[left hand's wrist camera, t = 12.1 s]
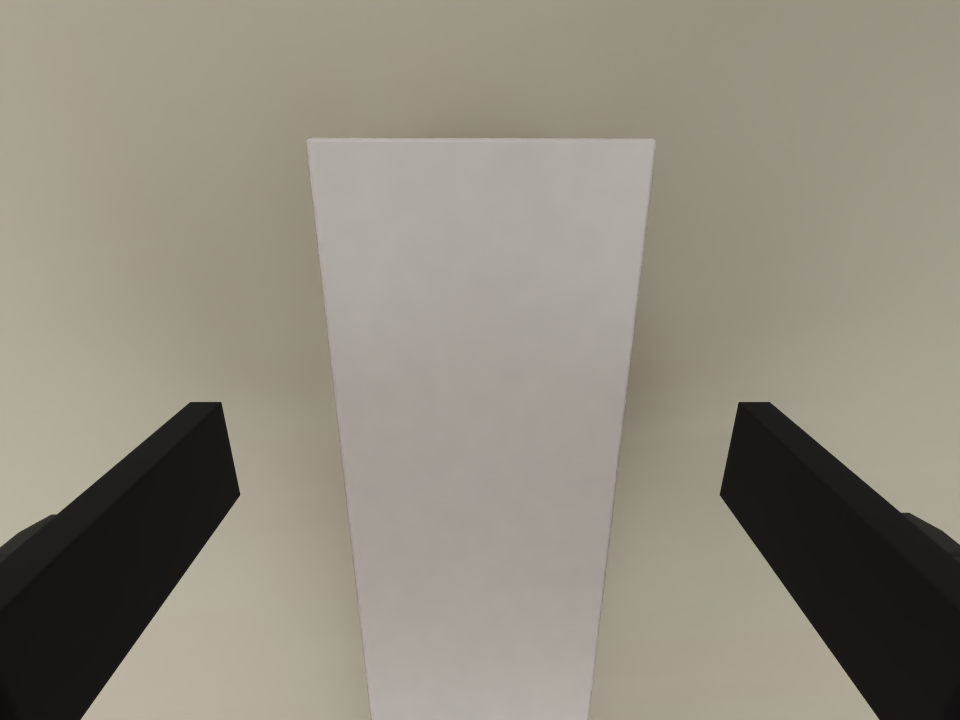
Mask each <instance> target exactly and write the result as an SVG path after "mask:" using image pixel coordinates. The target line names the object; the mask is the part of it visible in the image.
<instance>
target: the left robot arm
mask: <svg viewBox="0 0 960 720" xmlns="http://www.w3.org/2000/svg"><path fill="white" fill-rule="evenodd" d="M239 496H240V491H239V486H238V481H237V477H236V472H235V467H234V462H233V457H232V452H231V447H230V442H229V438H228V433H227V428H226V423H225V418H224V413H223V408H222V403H221V402H190V403H189V404H188V405H186V406H185V407H184V408H183V409H182V410H180V411H179V412H178V413H177V414H176V415H175V416H173V417H172V418H171V419H170V420H169V421H167V422H166V423H165V424H164V425H163V426H162V427H160V428H159V429H158V430H157V431H156V432H154V433H153V434H152V435H151V436H150V437H148V438H147V439H146V440H145V441H144V442H143V443H141V444H140V445H139V446H138V447H137V448H135V449H134V450H133V451H132V452H131V453H129V454H128V455H127V456H126V457H125V458H124V459H122V460H121V461H120V462H119V463H118V464H116V465H115V466H114V467H113V468H112V469H111V470H109V471H108V472H107V473H106V474H105V475H103V476H102V477H101V478H100V479H99V480H97V481H96V482H95V483H94V484H93V485H92V486H90V487H89V488H88V489H87V490H86V491H84V492H83V493H82V494H81V495H80V496H79V497H77V498H76V499H75V500H74V501H73V502H71V503H70V504H69V505H68V506H67V507H65V508H64V509H63V510H62V511H61V512H60V513H58V514H57V515H50V516H48V517H46V518H44V519H43V520H41V521H39V522H37V523H35V524H34V525H32V526H30V527H28V528H26V529H24V530H23V531H21V532H19V533H18V534H16V535H15V536H14V537H13V538H11V539H10V540H9V541H8V542H6V543H5V544H4V545H3V546H2V547H0V720H81V718H82V717H83V715H84V714H85V713H86V711H87V710H88V708H89V707H90V706H91V704H92V703H93V701H94V700H95V699H96V697H97V696H98V694H99V693H100V691H101V690H102V689H103V687H104V686H105V684H106V683H107V682H108V680H109V679H110V677H111V676H112V675H113V673H114V672H115V670H116V669H117V668H118V666H119V665H120V663H121V662H122V661H123V659H124V658H125V656H126V655H127V654H128V652H129V651H130V649H131V648H132V646H133V645H134V644H135V642H136V641H137V639H138V638H139V637H140V635H141V634H142V632H143V631H144V630H145V628H146V627H147V625H148V624H149V623H150V621H151V620H152V618H153V617H154V616H155V614H156V613H157V611H158V610H159V609H160V607H161V606H162V604H163V603H164V601H165V600H166V599H167V597H168V596H169V594H170V593H171V592H172V590H173V589H174V587H175V586H176V585H177V583H178V582H179V580H180V579H181V578H182V576H183V575H184V573H185V572H186V571H187V569H188V568H189V566H190V565H191V564H192V562H193V561H194V559H195V558H196V556H197V555H198V554H199V552H200V551H201V549H202V548H203V547H204V545H205V544H206V542H207V541H208V540H209V538H210V537H211V535H212V534H213V533H214V531H215V530H216V528H217V527H218V526H219V524H220V523H221V521H222V520H223V519H224V517H225V516H226V514H227V513H228V511H229V510H230V509H231V507H232V506H233V504H234V503H235V502H236V500H237V499H238V497H239ZM720 496H721V497H722V499H723V500H724V502H725V503H726V504H727V506H728V507H729V509H730V510H731V511H732V513H733V514H734V516H735V517H736V518H737V520H738V521H739V523H740V524H741V526H742V527H743V528H744V530H745V531H746V533H747V534H748V535H749V537H750V538H751V540H752V541H753V542H754V544H755V545H756V547H757V548H758V549H759V551H760V552H761V554H762V555H763V556H764V558H765V559H766V561H767V562H768V563H769V565H770V566H771V568H772V569H773V571H774V572H775V573H776V575H777V576H778V578H779V579H780V580H781V582H782V583H783V585H784V586H785V587H786V589H787V590H788V592H789V593H790V594H791V596H792V597H793V599H794V600H795V601H796V603H797V604H798V606H799V607H800V608H801V610H802V611H803V613H804V614H805V616H806V617H807V618H808V620H809V621H810V623H811V624H812V625H813V627H814V628H815V630H816V631H817V632H818V634H819V635H820V637H821V638H822V639H823V641H824V642H825V644H826V645H827V646H828V648H829V649H830V651H831V652H832V653H833V655H834V656H835V658H836V659H837V661H838V662H839V663H840V665H841V666H842V668H843V669H844V670H845V672H846V673H847V675H848V676H849V677H850V679H851V680H852V682H853V683H854V684H855V686H856V687H857V689H858V690H859V691H860V693H861V694H862V696H863V697H864V698H865V700H866V701H867V703H868V704H869V706H870V707H871V708H872V710H873V711H874V713H875V714H876V715H877V717H878V718H879V720H960V545H959V544H958V543H957V542H955V541H954V540H953V539H952V538H950V537H949V536H948V535H947V534H945V533H944V532H943V531H941V530H940V529H938V528H936V527H934V526H932V525H930V524H929V523H927V522H925V521H923V520H921V519H919V518H918V517H916V516H914V515H912V514H910V513H900V512H899V511H898V510H897V509H896V508H895V507H893V506H892V505H891V504H890V503H889V502H887V501H886V500H885V499H884V498H883V497H881V496H880V495H879V494H878V493H877V492H876V491H874V490H873V489H872V488H871V487H870V486H868V485H867V484H866V483H865V482H864V481H863V480H861V479H860V478H859V477H858V476H857V475H855V474H854V473H853V472H852V471H851V470H849V469H848V468H847V467H846V466H845V465H844V464H842V463H841V462H840V461H839V460H838V459H836V458H835V457H834V456H833V455H832V454H831V453H829V452H828V451H827V450H826V449H825V448H823V447H822V446H821V445H820V444H819V443H817V442H816V441H815V440H814V439H813V438H812V437H810V436H809V435H808V434H807V433H806V432H804V431H803V430H802V429H801V428H800V427H799V426H797V425H796V424H795V423H794V422H793V421H791V420H790V419H789V418H788V417H787V416H785V415H784V414H783V413H782V412H781V411H780V410H778V409H777V408H776V407H775V406H774V405H772V404H771V403H770V402H739V404H738V408H737V413H736V418H735V423H734V428H733V433H732V438H731V443H730V447H729V452H728V457H727V462H726V467H725V472H724V477H723V482H722V486H721V491H720Z"/></svg>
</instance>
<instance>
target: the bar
mask: <svg viewBox="0 0 960 720" xmlns="http://www.w3.org/2000/svg"><path fill="white" fill-rule="evenodd" d="M306 146H307V155H308V164H309V173H310V182H311V190H312V199H313V208H314V217H315V226H316V235H317V244H318V253H319V261H320V270H321V279H322V288H323V297H324V306H325V315H326V324H327V332H328V341H329V350H330V359H331V368H332V377H333V386H334V395H335V403H336V412H337V421H338V430H339V439H340V448H341V457H342V466H343V474H344V483H345V492H346V501H347V510H348V519H349V528H350V537H351V545H352V554H353V563H354V572H355V581H356V590H357V599H358V608H359V616H360V625H361V634H362V643H363V652H364V661H365V670H366V679H367V687H368V696H369V705H370V714H371V720H588V719H589V710H590V702H591V693H592V685H593V676H594V668H595V659H596V651H597V642H598V634H599V625H600V617H601V608H602V600H603V591H604V583H605V574H606V566H607V557H608V549H609V540H610V532H611V523H612V515H613V506H614V498H615V489H616V481H617V472H618V464H619V455H620V447H621V438H622V430H623V421H624V413H625V404H626V396H627V387H628V379H629V370H630V362H631V353H632V345H633V337H634V328H635V320H636V311H637V303H638V294H639V286H640V277H641V269H642V260H643V252H644V243H645V235H646V226H647V218H648V209H649V201H650V192H651V184H652V175H653V167H654V158H655V150H656V141H655V140H654V139H652V138H333V137H311V138H309V139H307V142H306Z"/></svg>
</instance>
